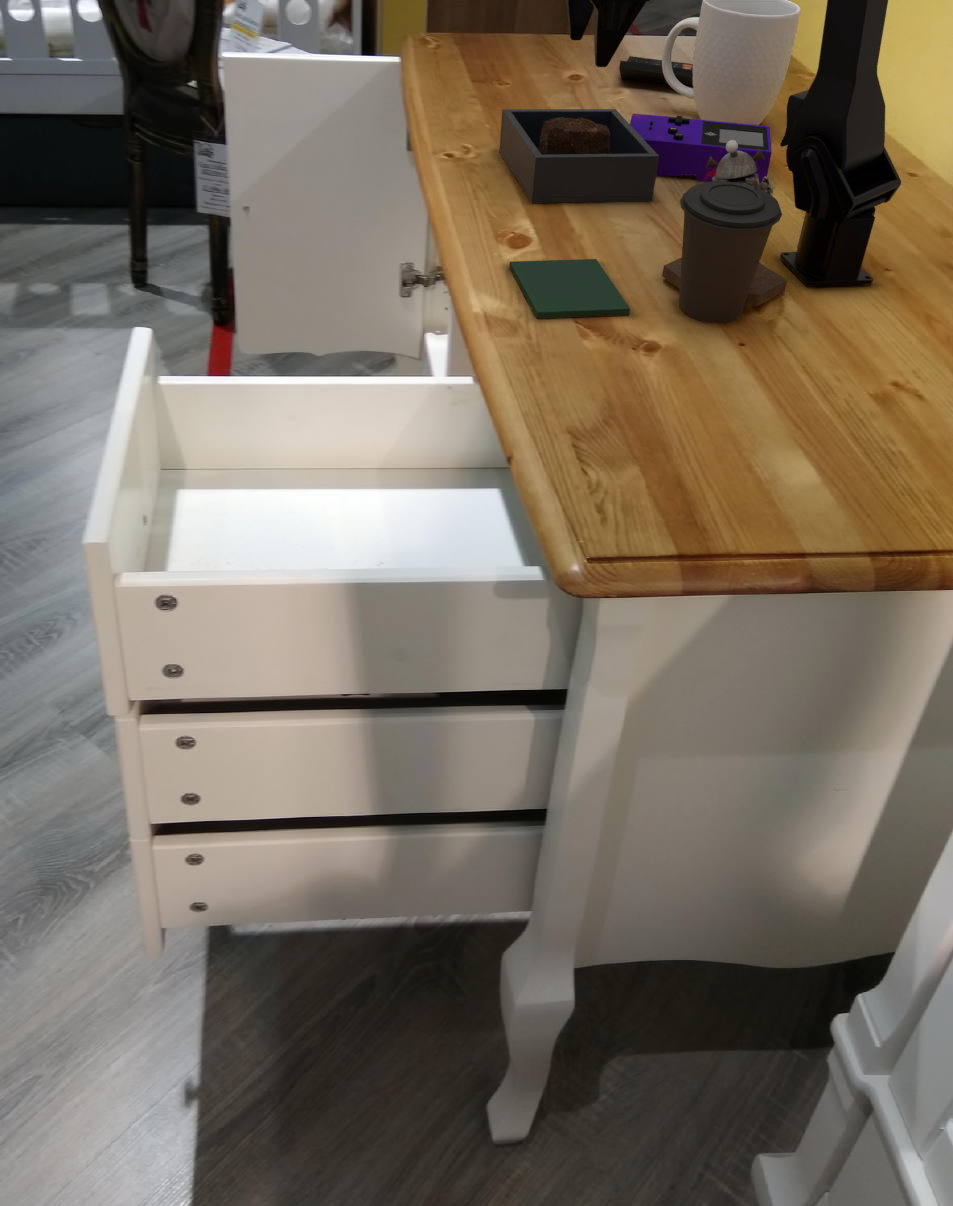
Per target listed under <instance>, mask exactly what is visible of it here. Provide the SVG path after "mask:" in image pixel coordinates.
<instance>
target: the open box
mask: <svg viewBox="0 0 953 1206" xmlns="http://www.w3.org/2000/svg"><path fill="white" fill-rule="evenodd" d="M559 117H564V118H573V119H579V118H585V119H588V120H591V121H593V122H594V123H597V124H601V125H605V126H607V127H608V129H609V131H610V134H611V137H610V154H559V155H541V153H540V152H539V151H538V147H539V139H540V134H541V131H542V127H543V125H544V122H545V121H547V120H550V119H554V118H559ZM500 121H501V123H500V137H499V148H498V149H499V151H498V153H499V155H500V156H501V157H502V160H503V161H504V163H505V164H506V166H507V167H508V169H509V170H510V172H511V173H512V175H513V176H514V178H515V180H516V182H518V184H519V186H520V188H521V189H522V191H523V192H524V194H525V195H526V197H527V199H528V200H529V202H530V203H531V204H564V203H567V204H568V203H569V204H570V203H571V204H572V203H613V202H614V203H617V202H652V201H653V197H654V191H655V185H656V179H657V175H656V173H657V167H658V160H659V155H658V154H657V153H656V152H655V151H654V150H653V149H652V148H651V147H650V146H649V145H648V144H647V143H646V141H645V140H644V139H643V138H642V137H641V136H640V135H639V134H638V133H637V132H636V131H635V130H634V128H633V127H632V126H631V125H630V122H629V121H627V120H626V119H625V118H624V116H623V115H622V114H621V113H620V112H619V111H618V110H617V109H616V108H547V109H545V108H544V109H542V108H539V109H538V108H536V109H535V108H534V109H531V108H529V109H528V108H527V109H526V108H525V109H524V108H523V109H522V108H521V109H520V108H515V109H514V108H512V109H510V108H508V109H505V108H504V109H501V120H500Z"/></svg>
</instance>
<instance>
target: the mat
mask: <svg viewBox="0 0 953 1206" xmlns="http://www.w3.org/2000/svg"><path fill="white" fill-rule="evenodd" d="M508 268H509V270H510V272H511V273H512V275H513V277H514V279H515V281H516V283H517V285H518V286H519V288H520V291H521V292H522V294H523V296H524V298H525V299H526V302H527V303H528V305H529V307H530V309H531V310H532V313H533V314H534V316H535V318H536V319H538V320H539V319H559V318H560V319H561V318H583V317H584V318H585V317H587V318H589V317H612V316H613V317H615V316H629V315H630V312H631V307H630V306H629V305H628V303H627V302H626V300H625V299H624V297H623V296H622V294H621V293H620V292H619V290H618V289H617V287H616V286H615V284H614V283H613V281H612V280H611V278H610V277H609V275H608V274H607V273H606V271H605V270H604V268H603V267H602V265H601V264H600V261H598V259H597V258H585V259H552V260H551V259H550V260H549V259H548V260H546V259H545V260H517V261H516V260H513V261H511V260H510V261H509V267H508Z"/></svg>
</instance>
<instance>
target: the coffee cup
mask: <svg viewBox="0 0 953 1206" xmlns="http://www.w3.org/2000/svg"><path fill="white" fill-rule="evenodd" d="M679 202H680V208H681V209H682V211H683V212H684V216H683V231H682V243H681V258H682V260H681V275H680V289H679V290H678V291H679V293H678V306H679V308H680V310H681V311H682V312H683V313H684V314H686V315H687V316H689V317H690V318H692V319H695V320H697V321H701V322H706V323H712V324H713V323H715V324H720V323H728V322H732V321H735V320H736V319H738V318H739V317H740V316H741V314H742V312H743V309H744V308H745V307H744V306H745V305H744V304H745V301H746V298H747V295H748V293H749V290H750V287H751V284H752V281H753V279H754V276H755V273H756V270H757V267H758V265H759V263H761V259H762V256H763V253H764V250H765V249H766V245H767V242H768V240H769V236H770V234H771V231H772V228H773V226H774V225H776V224H777V223H779V222H780V220H781V218H782V216H783V212H782V210H781V206H780V203H779V201H778V200H777V199H776V197H774V195H773V194H772V195H770V194H769V193H767V192H765V191H763V190H761V189H759V188H756V187H755V186H752V185H750V184H747V183H743V184H742V183H736V182H728V181H712V182H701V183H697V184H694V185H692V186H691V187H689V188H688V189H687V190H686V191H685V192H684V193H683V195H682V196H681V198H680V199H679Z"/></svg>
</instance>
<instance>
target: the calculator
mask: <svg viewBox="0 0 953 1206" xmlns="http://www.w3.org/2000/svg"><path fill="white" fill-rule="evenodd" d="M671 64H672V70H673V73H674V75H675V77H676V78H677V80H678V81H679V82H680V83H681V84H683V85H685V86H687V87H689V88H693V63H687V62H679V61H672V60H671ZM618 68H619V69H618V70H619V73H620V78H621V79H627V80H635V81H644V82H651V83H659V84H667V85H669V84H668V83H667V81H666V79H665V77H664V74H663V69H662V59H657V58H656V59H655V58H649V57H648V58H647V57H642V56H641V57H639V56H633V55H629V56H628V58H627V60H619V67H618Z"/></svg>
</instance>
